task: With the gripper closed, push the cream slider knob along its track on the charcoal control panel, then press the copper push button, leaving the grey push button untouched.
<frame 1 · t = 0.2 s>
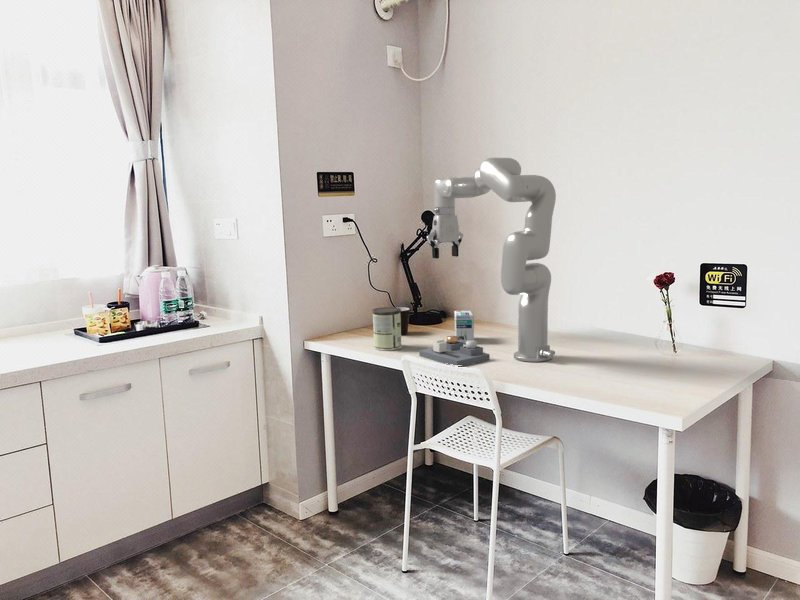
hand: (445, 257, 255), 31 cm above the table, fingers open, 9 cm apart
light bulb box: (464, 341, 252), on the table
coffee mug: (398, 335, 267), on the table
copper button: (452, 340, 232), point 5 cm above the table, slide at 0.0 cm
panel: (453, 358, 227), on the table
coffee can: (387, 348, 245), on the table
slider: (439, 345, 226), point 4 cm above the table, slide at 0.0 cm
grey button: (471, 345, 224), point 5 cm above the table, slide at 0.0 cm
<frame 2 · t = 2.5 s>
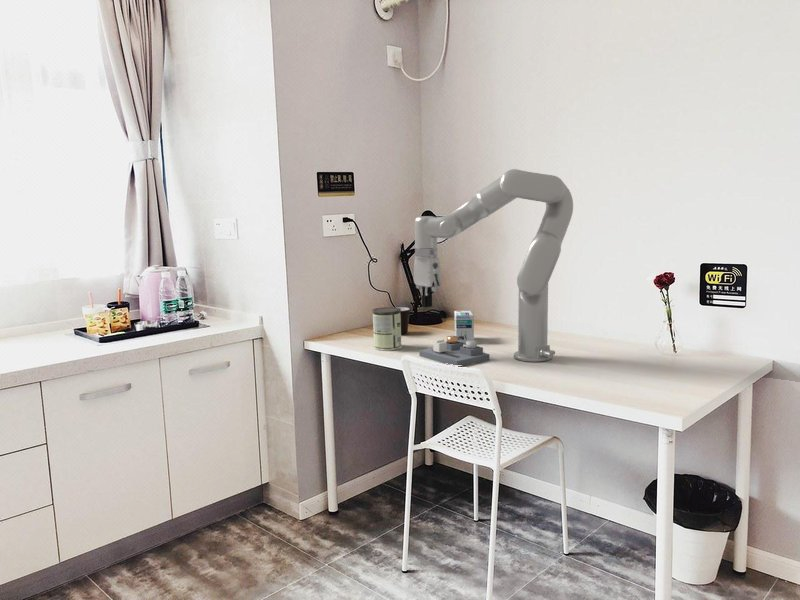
hand: (427, 306, 230), 17 cm above the table, fingers closed
nothing on the table moved.
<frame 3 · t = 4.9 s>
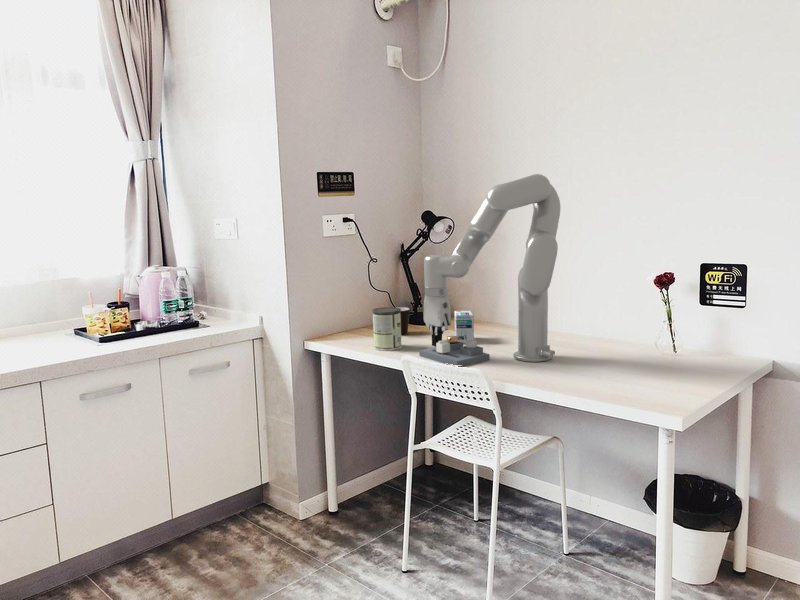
hand: (437, 345, 228), 4 cm above the table, fingers closed
slider: (443, 346, 225), point 4 cm above the table, slide at 1.7 cm, touching gripper
everything else where it was.
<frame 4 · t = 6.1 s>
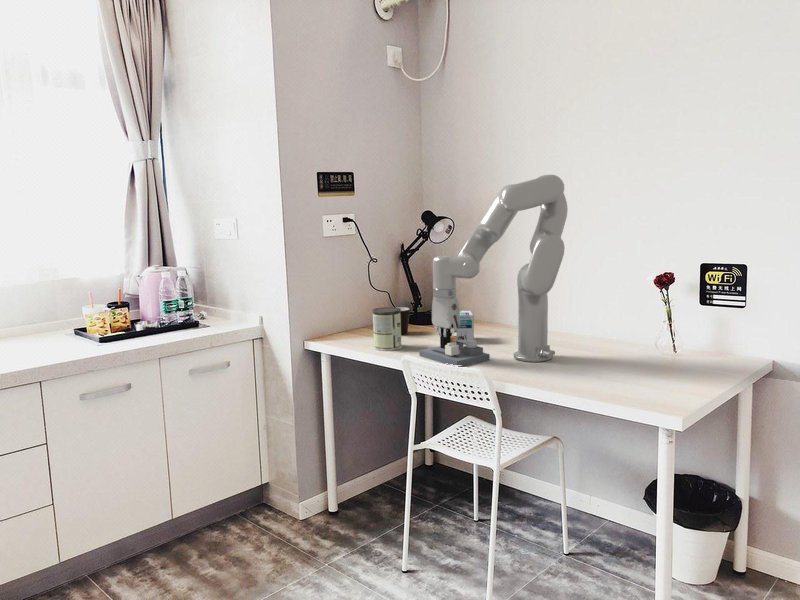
hand: (445, 347, 224), 4 cm above the table, fingers closed
slider: (451, 348, 221), point 4 cm above the table, slide at 6.3 cm, touching gripper
everything else where it was.
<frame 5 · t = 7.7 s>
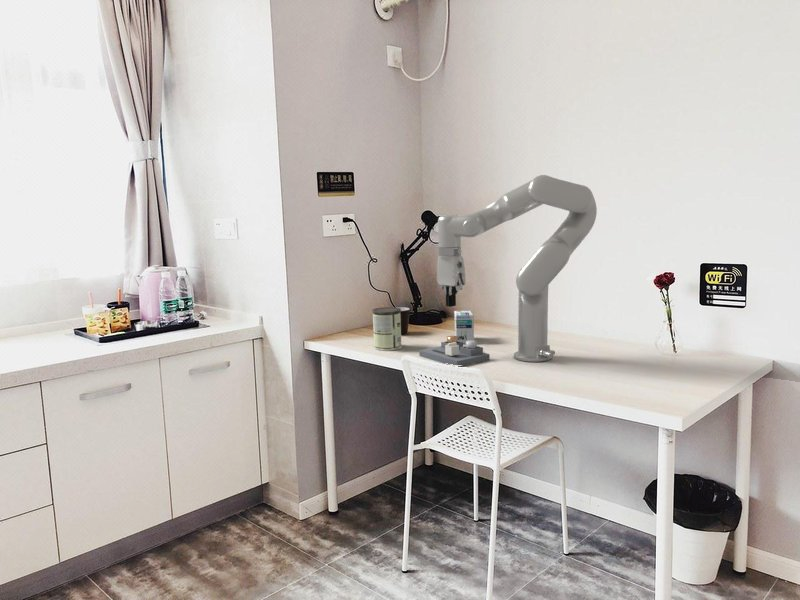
hand: (450, 305, 229), 17 cm above the table, fingers closed
slider: (452, 348, 221), point 4 cm above the table, slide at 6.4 cm
everything else where it was.
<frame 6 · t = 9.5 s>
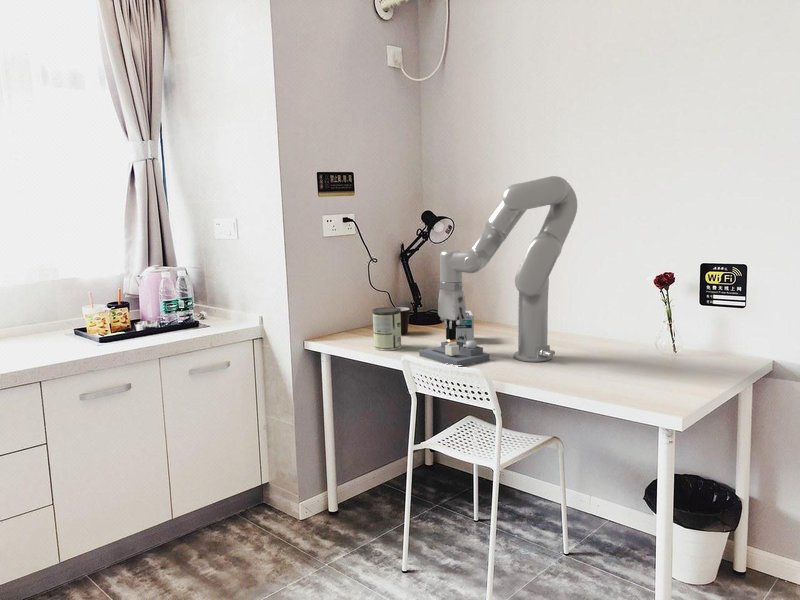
hand: (451, 339, 232), 5 cm above the table, fingers closed
copper button: (452, 342, 232), point 4 cm above the table, slide at 0.9 cm, touching gripper
everything else where it was.
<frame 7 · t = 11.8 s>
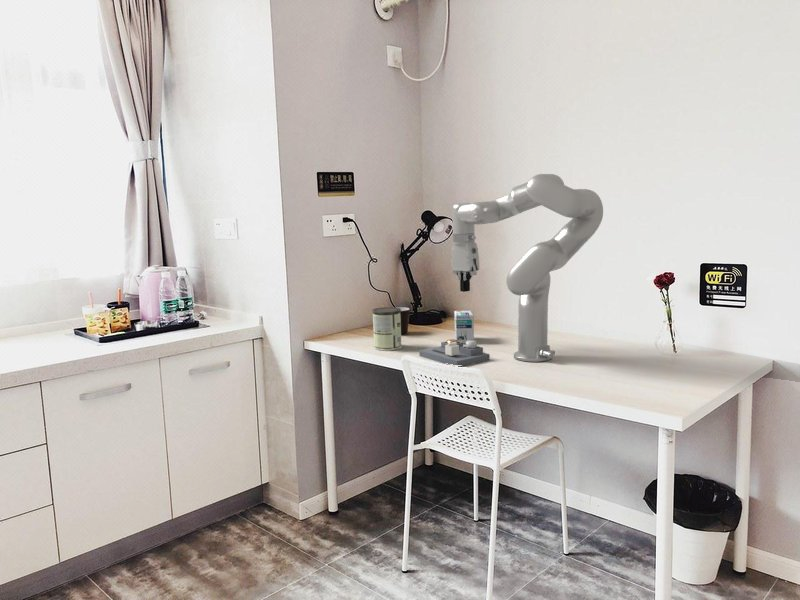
hand: (465, 291, 236), 21 cm above the table, fingers closed
copper button: (452, 344, 232), point 3 cm above the table, slide at 1.3 cm
everything else where it was.
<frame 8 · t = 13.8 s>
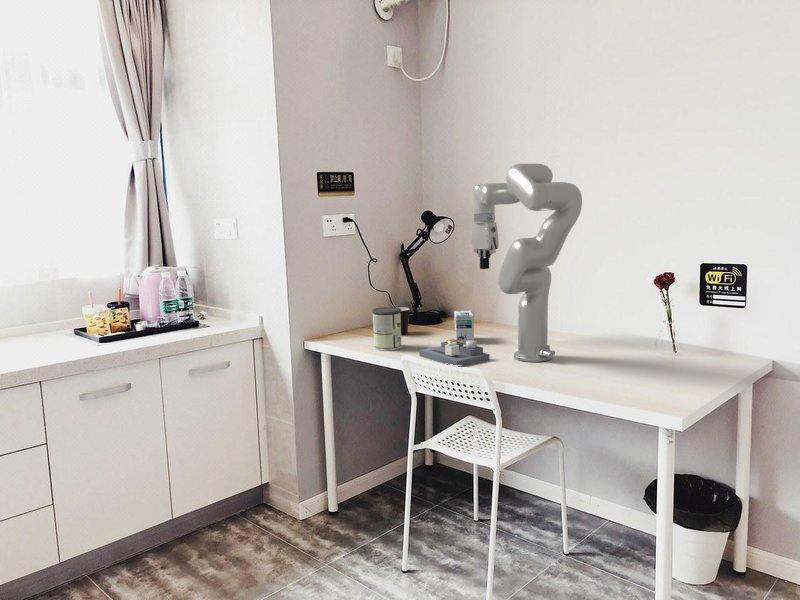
hand: (484, 268, 248), 27 cm above the table, fingers closed
nothing on the table moved.
at the end: slider slide at 6.4 cm; copper button slide at 1.3 cm; grey button slide at 0.0 cm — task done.
